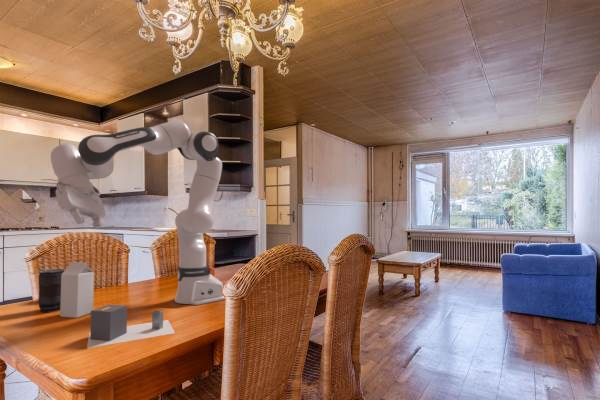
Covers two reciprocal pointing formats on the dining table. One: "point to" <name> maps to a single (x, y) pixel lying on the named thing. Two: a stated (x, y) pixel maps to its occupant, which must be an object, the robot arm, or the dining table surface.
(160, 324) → the d shaft
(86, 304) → the milk carton
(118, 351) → the dining table surface
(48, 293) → the camera lens
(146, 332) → the workboard
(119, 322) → the block
